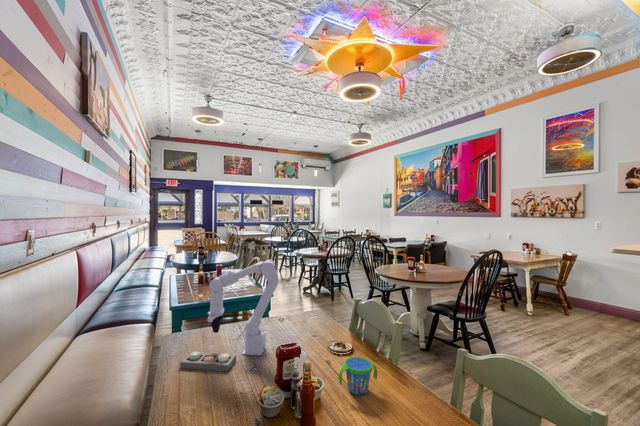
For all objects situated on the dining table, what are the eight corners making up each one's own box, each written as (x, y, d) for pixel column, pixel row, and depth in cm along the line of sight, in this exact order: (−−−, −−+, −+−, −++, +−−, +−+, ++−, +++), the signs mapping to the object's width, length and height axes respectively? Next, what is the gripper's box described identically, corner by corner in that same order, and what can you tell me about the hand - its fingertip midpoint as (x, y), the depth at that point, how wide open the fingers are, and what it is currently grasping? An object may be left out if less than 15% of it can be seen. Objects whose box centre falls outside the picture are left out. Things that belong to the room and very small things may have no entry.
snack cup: (371, 380, 118) (372, 354, 118) (382, 396, 108) (383, 368, 108) (334, 384, 114) (334, 358, 114) (342, 401, 104) (343, 372, 104)
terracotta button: (215, 361, 129) (216, 356, 129) (211, 366, 125) (211, 361, 125) (206, 360, 129) (206, 355, 129) (201, 365, 125) (201, 360, 125)
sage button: (201, 356, 130) (202, 351, 130) (196, 361, 125) (197, 356, 125) (192, 356, 130) (192, 351, 130) (187, 361, 125) (187, 356, 125)
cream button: (230, 358, 128) (230, 353, 128) (226, 363, 124) (226, 358, 124) (220, 358, 129) (220, 353, 129) (216, 363, 124) (216, 358, 124)
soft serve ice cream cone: (289, 394, 107) (290, 350, 107) (281, 382, 115) (282, 341, 115) (309, 388, 111) (310, 346, 111) (301, 377, 118) (302, 338, 118)
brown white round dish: (356, 345, 150) (357, 337, 150) (353, 359, 135) (353, 350, 135) (328, 341, 153) (329, 333, 153) (322, 355, 139) (322, 346, 139)
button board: (236, 360, 131) (236, 354, 131) (228, 371, 122) (228, 365, 122) (191, 357, 132) (191, 352, 132) (180, 367, 123) (180, 362, 123)
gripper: (214, 298, 146) (214, 325, 146) (201, 307, 131) (200, 338, 131) (228, 299, 145) (227, 326, 145) (216, 308, 131) (215, 338, 131)
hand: (215, 332), depth 138 cm, fingers closed
